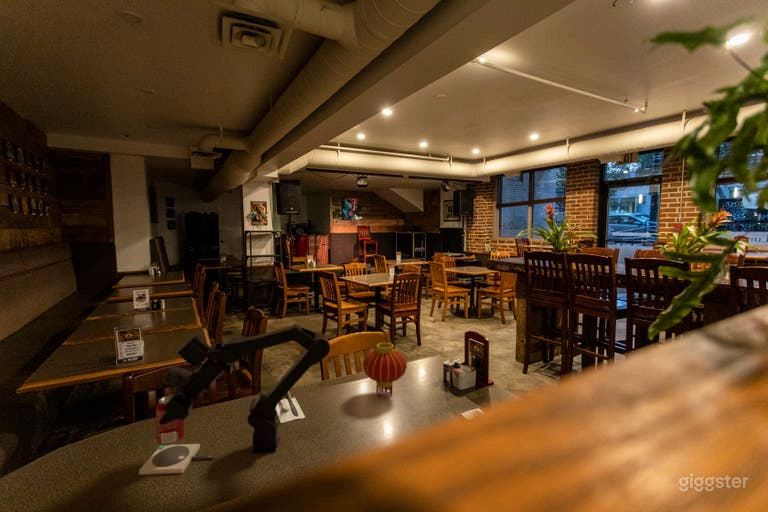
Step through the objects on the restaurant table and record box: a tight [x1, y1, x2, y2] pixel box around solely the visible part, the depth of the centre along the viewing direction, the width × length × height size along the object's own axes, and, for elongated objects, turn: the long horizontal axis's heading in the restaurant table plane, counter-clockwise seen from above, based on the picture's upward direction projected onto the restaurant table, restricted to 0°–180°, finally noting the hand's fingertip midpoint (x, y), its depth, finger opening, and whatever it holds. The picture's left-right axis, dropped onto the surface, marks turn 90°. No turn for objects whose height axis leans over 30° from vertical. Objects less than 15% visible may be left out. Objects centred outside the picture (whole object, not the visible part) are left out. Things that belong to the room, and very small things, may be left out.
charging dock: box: [138, 443, 215, 476], centre depth 102 cm, size 17×11×2 cm, turn 95°
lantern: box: [362, 320, 408, 398], centre depth 141 cm, size 17×17×30 cm
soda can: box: [155, 394, 185, 446], centre depth 102 cm, size 7×7×12 cm
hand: (165, 417), depth 102 cm, fingers closed on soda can, 7 cm apart
